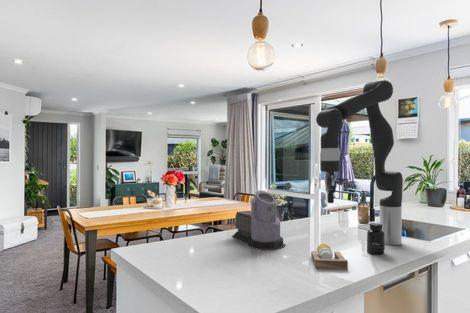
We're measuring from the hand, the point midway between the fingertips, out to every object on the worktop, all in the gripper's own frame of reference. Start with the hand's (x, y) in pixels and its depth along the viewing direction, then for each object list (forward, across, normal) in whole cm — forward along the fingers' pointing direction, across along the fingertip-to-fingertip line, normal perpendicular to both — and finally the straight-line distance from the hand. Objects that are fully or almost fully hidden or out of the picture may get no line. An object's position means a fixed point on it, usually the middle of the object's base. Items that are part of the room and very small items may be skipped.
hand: (330, 202), depth 129 cm
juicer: (+22, +20, +30) cm, 42 cm away
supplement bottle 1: (+19, 0, +3) cm, 19 cm away
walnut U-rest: (+21, -8, +3) cm, 23 cm away
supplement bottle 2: (+22, +7, -19) cm, 30 cm away
